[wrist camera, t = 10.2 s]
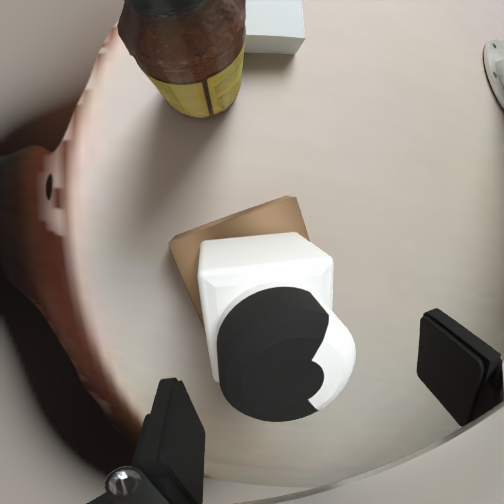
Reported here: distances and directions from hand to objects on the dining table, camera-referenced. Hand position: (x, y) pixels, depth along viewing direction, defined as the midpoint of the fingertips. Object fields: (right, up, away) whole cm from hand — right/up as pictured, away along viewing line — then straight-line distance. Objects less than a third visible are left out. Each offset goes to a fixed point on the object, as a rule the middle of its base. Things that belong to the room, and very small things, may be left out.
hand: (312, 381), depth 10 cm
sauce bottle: (-7, +19, +13) cm, 23 cm away
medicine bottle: (-2, +3, +13) cm, 13 cm away
